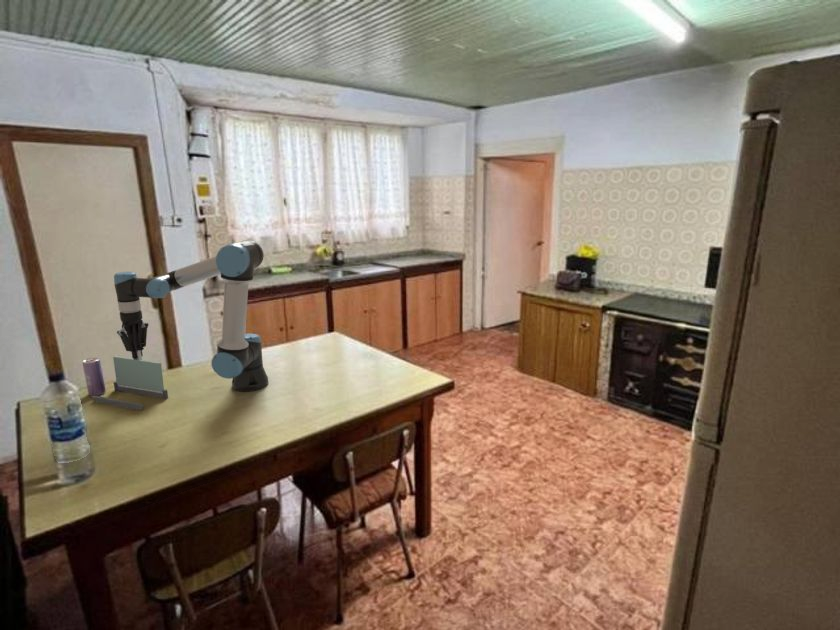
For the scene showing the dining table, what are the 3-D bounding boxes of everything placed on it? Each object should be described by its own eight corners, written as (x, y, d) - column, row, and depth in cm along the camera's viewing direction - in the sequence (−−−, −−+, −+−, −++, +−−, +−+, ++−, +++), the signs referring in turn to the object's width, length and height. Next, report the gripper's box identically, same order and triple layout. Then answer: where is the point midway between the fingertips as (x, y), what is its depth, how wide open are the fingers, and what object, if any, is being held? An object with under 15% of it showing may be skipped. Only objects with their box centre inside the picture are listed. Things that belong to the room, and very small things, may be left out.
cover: (162, 392, 187) (164, 391, 188) (159, 363, 184) (161, 362, 185) (116, 384, 193) (118, 384, 194) (113, 356, 190) (115, 356, 191)
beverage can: (109, 391, 192) (103, 358, 188) (95, 397, 187) (88, 363, 183) (99, 389, 194) (93, 356, 190) (85, 395, 189) (78, 361, 185)
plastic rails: (168, 397, 188) (167, 389, 187) (143, 411, 177) (142, 402, 176) (117, 389, 195) (116, 381, 194) (90, 401, 184) (89, 393, 183)
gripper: (136, 305, 190) (145, 358, 196) (108, 313, 178) (117, 369, 184) (151, 307, 187) (158, 360, 194) (123, 315, 176) (132, 372, 182)
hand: (138, 365), depth 189 cm, fingers closed
